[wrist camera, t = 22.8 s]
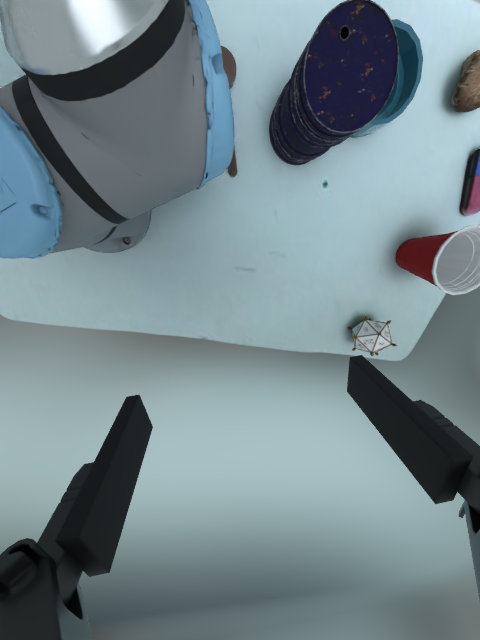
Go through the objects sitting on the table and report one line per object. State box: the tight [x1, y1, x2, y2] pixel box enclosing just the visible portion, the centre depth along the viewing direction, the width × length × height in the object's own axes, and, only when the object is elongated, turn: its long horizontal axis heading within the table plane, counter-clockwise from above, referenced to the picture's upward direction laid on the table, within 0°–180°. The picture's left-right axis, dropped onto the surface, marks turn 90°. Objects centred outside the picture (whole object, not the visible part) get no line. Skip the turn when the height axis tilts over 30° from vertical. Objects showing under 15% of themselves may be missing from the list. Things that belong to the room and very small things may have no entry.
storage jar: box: [269, 0, 399, 165], centre depth 29 cm, size 10×10×15 cm
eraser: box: [460, 149, 480, 216], centre depth 41 cm, size 11×4×2 cm, turn 13°
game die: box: [348, 316, 397, 356], centre depth 48 cm, size 9×8×10 cm
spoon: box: [221, 46, 237, 177], centre depth 33 cm, size 15×4×1 cm, turn 7°
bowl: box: [352, 19, 423, 137], centre depth 32 cm, size 10×10×6 cm
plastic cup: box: [396, 225, 480, 295], centre depth 40 cm, size 11×11×12 cm
